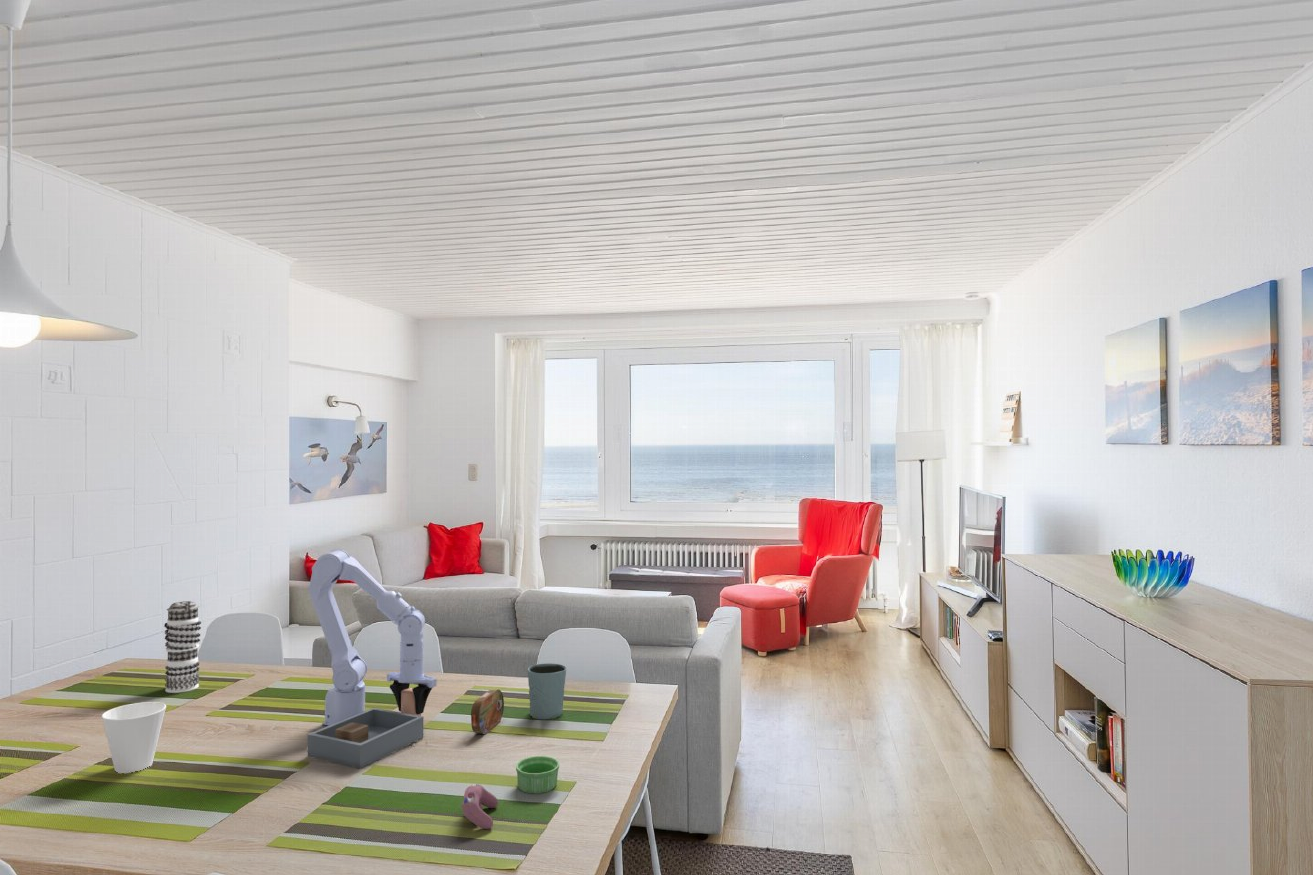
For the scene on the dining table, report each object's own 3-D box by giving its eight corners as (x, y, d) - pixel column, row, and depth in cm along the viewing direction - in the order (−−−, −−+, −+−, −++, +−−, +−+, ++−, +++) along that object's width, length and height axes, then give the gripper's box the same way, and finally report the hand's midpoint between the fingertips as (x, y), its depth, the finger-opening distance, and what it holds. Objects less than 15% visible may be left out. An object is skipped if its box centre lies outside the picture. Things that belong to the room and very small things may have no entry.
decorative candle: (188, 693, 220) (189, 605, 220) (156, 693, 220) (157, 605, 220) (207, 683, 229) (208, 599, 229) (176, 683, 229) (177, 599, 229)
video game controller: (479, 814, 150) (462, 783, 149) (500, 803, 150) (484, 771, 150) (472, 840, 140) (454, 806, 140) (494, 827, 140) (477, 794, 140)
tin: (480, 739, 185) (480, 704, 185) (468, 738, 186) (468, 703, 186) (505, 717, 200) (505, 685, 200) (493, 717, 200) (493, 684, 200)
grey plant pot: (520, 716, 200) (520, 670, 200) (540, 705, 210) (540, 661, 210) (554, 722, 196) (554, 675, 197) (572, 709, 206) (573, 664, 206)
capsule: (396, 719, 196) (396, 692, 197) (410, 713, 201) (410, 686, 201) (411, 722, 194) (412, 694, 194) (425, 716, 199) (425, 689, 199)
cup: (95, 782, 160) (96, 723, 161) (105, 762, 171) (106, 706, 171) (162, 771, 166) (163, 714, 166) (168, 752, 176) (169, 698, 177)
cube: (335, 751, 175) (335, 729, 175) (352, 743, 179) (352, 722, 179) (351, 754, 172) (351, 732, 173) (368, 747, 177) (368, 725, 177)
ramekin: (539, 799, 153) (539, 777, 153) (506, 788, 158) (506, 766, 158) (568, 782, 161) (568, 761, 161) (535, 773, 165) (536, 752, 166)
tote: (307, 756, 174) (307, 734, 174) (373, 727, 192) (373, 707, 193) (360, 768, 168) (360, 745, 168) (423, 737, 186) (423, 716, 186)
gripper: (378, 659, 197) (378, 712, 197) (423, 665, 191) (423, 720, 191) (397, 653, 204) (397, 704, 203) (442, 658, 198) (441, 711, 198)
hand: (411, 711), depth 198 cm, fingers closed on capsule, 5 cm apart
